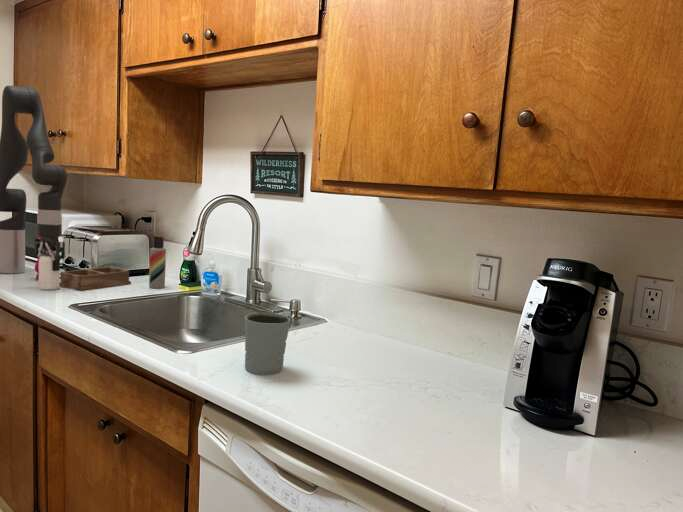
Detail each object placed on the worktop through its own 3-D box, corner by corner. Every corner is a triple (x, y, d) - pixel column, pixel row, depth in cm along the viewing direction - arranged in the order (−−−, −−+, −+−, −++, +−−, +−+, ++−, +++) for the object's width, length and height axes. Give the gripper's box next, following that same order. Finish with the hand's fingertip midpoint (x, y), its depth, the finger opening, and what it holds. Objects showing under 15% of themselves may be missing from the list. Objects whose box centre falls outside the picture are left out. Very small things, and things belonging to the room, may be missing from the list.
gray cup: (233, 366, 118) (236, 315, 116) (267, 358, 125) (270, 310, 124) (261, 379, 111) (264, 325, 109) (295, 370, 118) (299, 319, 117)
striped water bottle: (146, 286, 198) (148, 234, 195) (161, 285, 202) (162, 235, 199) (152, 289, 194) (154, 236, 191) (167, 288, 197) (168, 236, 195)
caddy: (58, 285, 187) (58, 271, 187) (108, 279, 206) (109, 266, 205) (81, 291, 181) (81, 276, 181) (130, 284, 200) (131, 271, 199)
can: (39, 290, 177) (39, 256, 176) (37, 287, 182) (37, 253, 181) (60, 289, 181) (61, 256, 180) (58, 286, 186) (58, 253, 185)
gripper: (26, 220, 179) (26, 267, 181) (51, 224, 172) (51, 273, 174) (47, 220, 186) (47, 265, 187) (72, 224, 179) (72, 270, 181)
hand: (49, 269), depth 181 cm, fingers open, 7 cm apart
